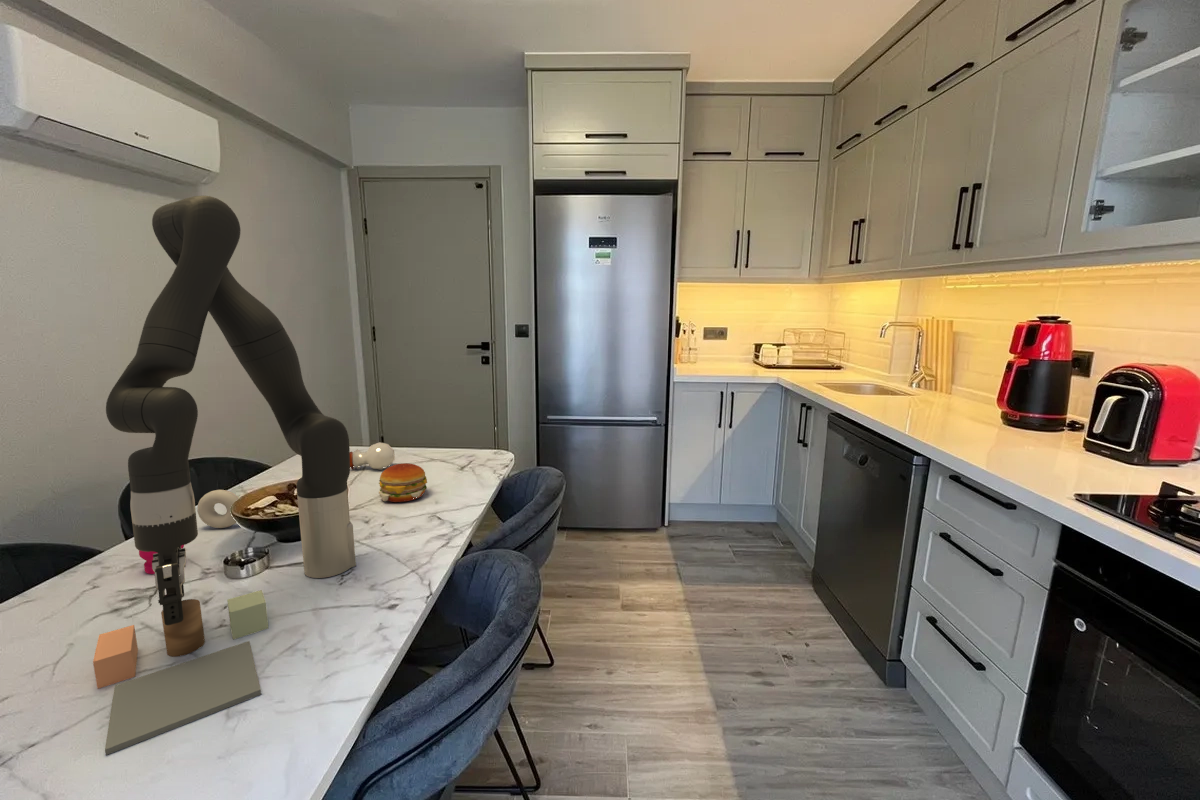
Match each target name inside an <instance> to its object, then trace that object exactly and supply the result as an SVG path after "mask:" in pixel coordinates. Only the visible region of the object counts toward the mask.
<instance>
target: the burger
mask: <svg viewBox="0 0 1200 800" xmlns="http://www.w3.org/2000/svg"><path fill="white" fill-rule="evenodd" d="M378 481H379V482H378V484H379V491H378V494H379V497H380V498H381V499H382V502H394V503H404V502H410V501H413V500H416V499H419V498H421V497H422V496H423V495H424V494H425V492H426V490H427V487H428V486H427V483H428V479H427V476H426V471H424V469H423V468H422V467H421V466H419V465H418V464H417V465H416V464H414V463H407V462H405V463H398V464H396V463H395V464H393V465H391V466H390V467H388V468H385V469H383V471H382V472H381V474H380V476H379V480H378ZM423 493H424V494H423ZM422 494H423V495H422ZM416 497H417V498H416ZM413 498H414V499H413Z"/></svg>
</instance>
